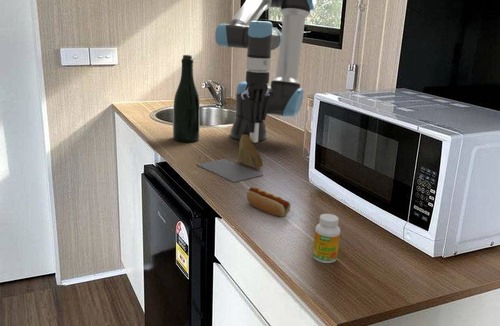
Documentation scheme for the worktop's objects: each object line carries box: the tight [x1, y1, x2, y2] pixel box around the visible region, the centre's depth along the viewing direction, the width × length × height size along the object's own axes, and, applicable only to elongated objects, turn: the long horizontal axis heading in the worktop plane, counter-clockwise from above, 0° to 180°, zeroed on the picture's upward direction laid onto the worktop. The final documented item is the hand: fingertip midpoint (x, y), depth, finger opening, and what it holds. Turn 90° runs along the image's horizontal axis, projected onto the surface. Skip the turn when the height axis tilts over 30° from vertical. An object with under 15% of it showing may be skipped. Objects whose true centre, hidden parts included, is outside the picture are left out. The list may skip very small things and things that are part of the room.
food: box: [246, 187, 291, 218], centre depth 131 cm, size 14×6×5 cm, turn 45°
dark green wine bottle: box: [172, 54, 201, 143], centre depth 189 cm, size 10×10×33 cm
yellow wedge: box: [237, 134, 264, 170], centre depth 165 cm, size 11×9×10 cm
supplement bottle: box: [312, 213, 341, 264], centre depth 106 cm, size 5×5×10 cm
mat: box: [196, 158, 264, 183], centre depth 161 cm, size 12×20×1 cm, turn 41°
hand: (253, 141), depth 164 cm, fingers closed
